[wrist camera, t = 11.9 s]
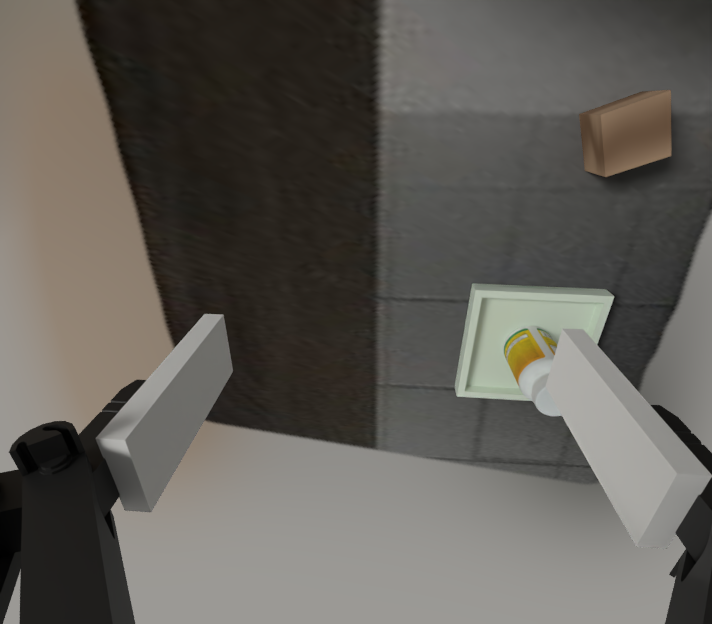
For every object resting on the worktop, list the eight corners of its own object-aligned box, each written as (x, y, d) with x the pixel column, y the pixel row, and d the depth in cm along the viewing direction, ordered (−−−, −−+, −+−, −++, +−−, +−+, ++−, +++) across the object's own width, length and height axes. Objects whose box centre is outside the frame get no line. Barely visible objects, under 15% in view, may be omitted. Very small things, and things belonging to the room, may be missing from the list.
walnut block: (578, 114, 35) (600, 114, 31) (640, 91, 33) (670, 89, 30) (584, 170, 37) (605, 177, 33) (642, 151, 36) (671, 155, 32)
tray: (472, 283, 42) (475, 290, 41) (605, 289, 42) (614, 296, 40) (454, 387, 49) (456, 396, 47) (569, 393, 48) (576, 403, 46)
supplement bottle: (554, 323, 43) (596, 376, 35) (546, 364, 46) (583, 422, 37) (504, 324, 44) (533, 376, 35) (498, 364, 46) (524, 421, 38)
